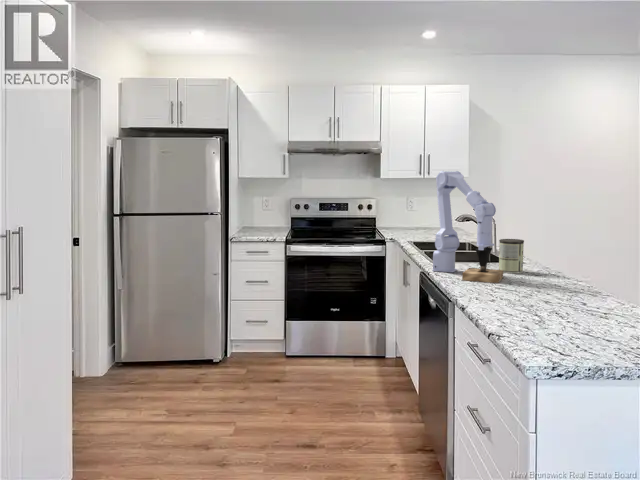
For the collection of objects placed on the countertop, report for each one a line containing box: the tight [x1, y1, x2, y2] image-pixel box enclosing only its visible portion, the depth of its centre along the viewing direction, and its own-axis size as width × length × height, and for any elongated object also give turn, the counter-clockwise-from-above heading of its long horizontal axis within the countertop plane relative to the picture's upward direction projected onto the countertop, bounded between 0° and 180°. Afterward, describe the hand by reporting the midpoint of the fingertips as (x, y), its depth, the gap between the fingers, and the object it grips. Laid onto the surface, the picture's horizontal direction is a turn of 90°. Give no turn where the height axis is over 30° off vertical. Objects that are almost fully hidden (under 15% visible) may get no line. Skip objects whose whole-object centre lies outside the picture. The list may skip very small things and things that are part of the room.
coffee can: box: [498, 238, 525, 275], centre depth 245 cm, size 10×10×14 cm
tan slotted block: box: [461, 267, 504, 284], centre depth 229 cm, size 14×14×3 cm
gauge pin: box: [479, 262, 488, 273], centre depth 228 cm, size 2×2×9 cm
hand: (483, 265), depth 228 cm, fingers closed on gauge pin, 2 cm apart
